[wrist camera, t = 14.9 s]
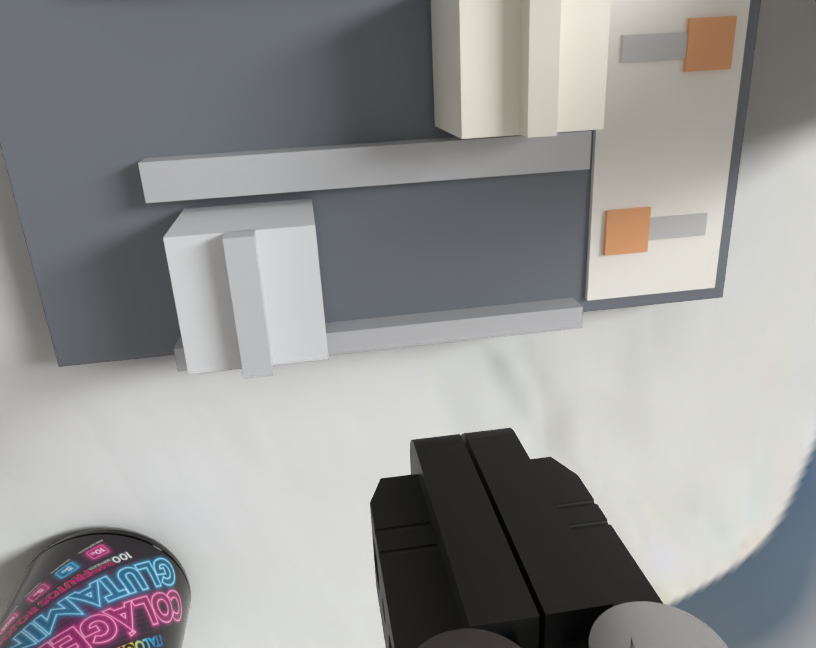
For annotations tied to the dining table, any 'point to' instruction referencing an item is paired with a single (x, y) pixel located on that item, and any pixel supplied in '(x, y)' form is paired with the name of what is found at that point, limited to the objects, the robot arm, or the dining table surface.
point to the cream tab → (519, 66)
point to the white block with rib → (247, 286)
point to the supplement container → (99, 595)
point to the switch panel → (362, 166)
